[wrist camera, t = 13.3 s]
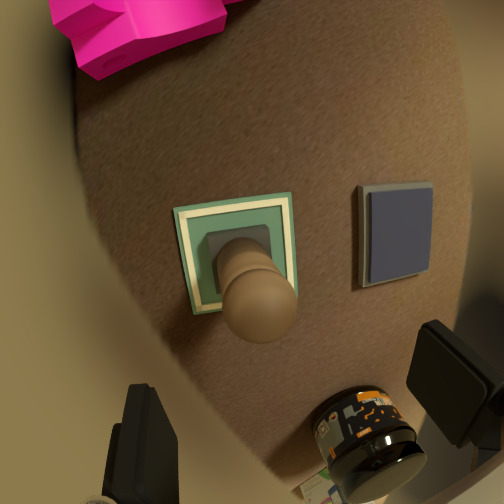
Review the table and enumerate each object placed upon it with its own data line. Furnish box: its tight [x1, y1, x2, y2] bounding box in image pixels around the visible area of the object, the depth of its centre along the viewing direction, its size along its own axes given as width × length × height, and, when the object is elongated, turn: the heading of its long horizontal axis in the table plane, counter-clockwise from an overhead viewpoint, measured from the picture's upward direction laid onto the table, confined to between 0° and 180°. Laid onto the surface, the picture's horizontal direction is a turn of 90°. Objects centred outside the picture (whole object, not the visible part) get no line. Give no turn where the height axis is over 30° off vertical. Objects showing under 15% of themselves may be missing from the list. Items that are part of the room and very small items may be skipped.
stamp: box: [207, 224, 298, 344], centre depth 19 cm, size 4×4×10 cm
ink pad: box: [357, 181, 433, 287], centre depth 25 cm, size 9×8×2 cm
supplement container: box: [311, 385, 427, 504], centre depth 27 cm, size 10×10×12 cm
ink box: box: [300, 467, 374, 504], centre depth 32 cm, size 9×5×12 cm, turn 141°
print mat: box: [173, 192, 298, 315], centre depth 24 cm, size 9×9×1 cm
